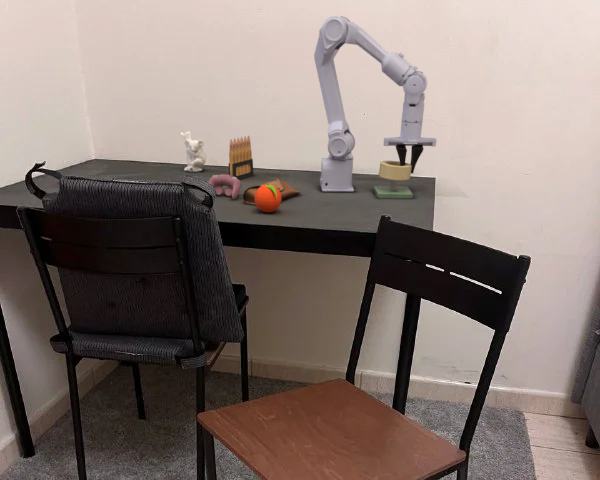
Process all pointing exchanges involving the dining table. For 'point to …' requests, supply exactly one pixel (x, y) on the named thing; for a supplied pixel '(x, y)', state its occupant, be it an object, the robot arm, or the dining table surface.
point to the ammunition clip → (240, 158)
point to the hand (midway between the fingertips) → (406, 172)
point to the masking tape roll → (394, 170)
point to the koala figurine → (194, 153)
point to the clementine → (268, 198)
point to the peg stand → (392, 191)
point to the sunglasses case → (284, 188)
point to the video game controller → (226, 180)
